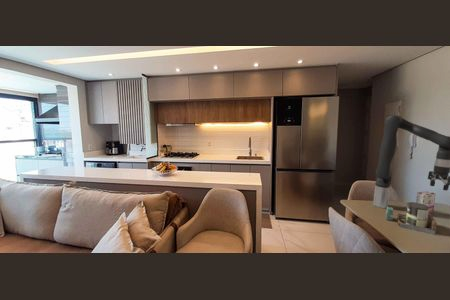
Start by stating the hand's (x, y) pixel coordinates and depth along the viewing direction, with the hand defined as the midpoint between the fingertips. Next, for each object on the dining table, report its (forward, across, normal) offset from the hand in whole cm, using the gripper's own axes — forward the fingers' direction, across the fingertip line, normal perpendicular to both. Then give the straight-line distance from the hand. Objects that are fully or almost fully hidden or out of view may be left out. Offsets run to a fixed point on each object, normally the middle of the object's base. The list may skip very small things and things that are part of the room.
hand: (438, 188), depth 132 cm
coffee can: (+24, +8, -18) cm, 31 cm away
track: (+24, +7, -20) cm, 32 cm away
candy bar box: (+24, -10, +3) cm, 26 cm away
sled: (+24, +6, -22) cm, 33 cm away
